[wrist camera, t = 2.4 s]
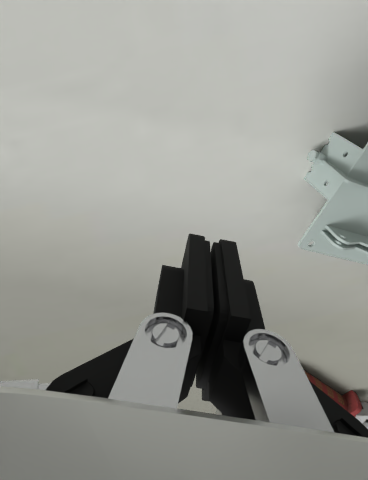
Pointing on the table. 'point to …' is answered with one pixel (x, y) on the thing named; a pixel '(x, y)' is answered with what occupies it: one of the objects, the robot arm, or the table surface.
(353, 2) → the table surface
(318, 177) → the metal bracket
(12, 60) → the table surface
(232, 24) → the table surface
